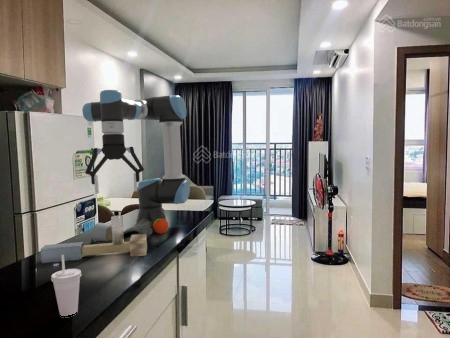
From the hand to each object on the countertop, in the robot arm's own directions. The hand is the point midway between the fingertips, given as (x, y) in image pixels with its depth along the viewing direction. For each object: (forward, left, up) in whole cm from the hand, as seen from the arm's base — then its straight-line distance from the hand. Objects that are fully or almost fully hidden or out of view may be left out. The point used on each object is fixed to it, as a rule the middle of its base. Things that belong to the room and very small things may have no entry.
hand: (116, 192), depth 123 cm
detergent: (-17, -14, -23) cm, 32 cm away
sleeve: (+16, -11, -23) cm, 30 cm away
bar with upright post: (+4, -2, -22) cm, 22 cm away
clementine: (-27, -13, -23) cm, 38 cm away
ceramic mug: (-6, -23, -23) cm, 33 cm away
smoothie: (+31, +33, -23) cm, 51 cm away
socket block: (-5, +4, -23) cm, 24 cm away
